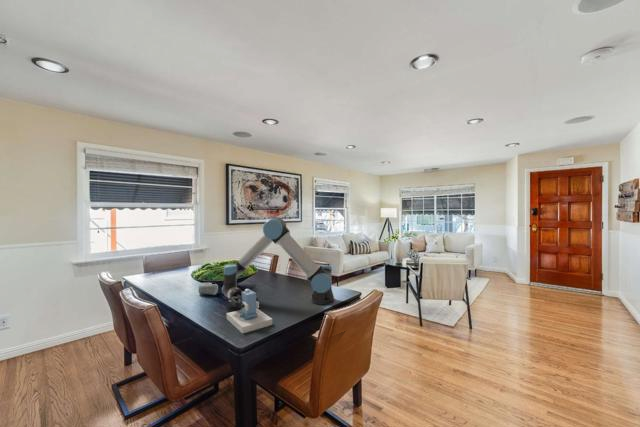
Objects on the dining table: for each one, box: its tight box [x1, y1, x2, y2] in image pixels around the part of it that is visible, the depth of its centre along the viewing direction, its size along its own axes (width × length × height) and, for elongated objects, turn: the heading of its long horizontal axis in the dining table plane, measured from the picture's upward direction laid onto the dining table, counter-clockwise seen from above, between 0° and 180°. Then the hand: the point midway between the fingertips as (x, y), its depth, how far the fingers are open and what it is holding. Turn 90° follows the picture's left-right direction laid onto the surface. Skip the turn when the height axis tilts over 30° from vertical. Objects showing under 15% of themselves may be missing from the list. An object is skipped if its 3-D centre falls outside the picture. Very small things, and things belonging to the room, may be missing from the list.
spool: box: [198, 282, 219, 296], centre depth 187 cm, size 14×10×10 cm
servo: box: [239, 288, 258, 320], centre depth 142 cm, size 11×6×15 cm, turn 38°
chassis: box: [226, 307, 274, 334], centre depth 142 cm, size 22×16×3 cm
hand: (253, 306), depth 138 cm, fingers closed on servo, 5 cm apart
